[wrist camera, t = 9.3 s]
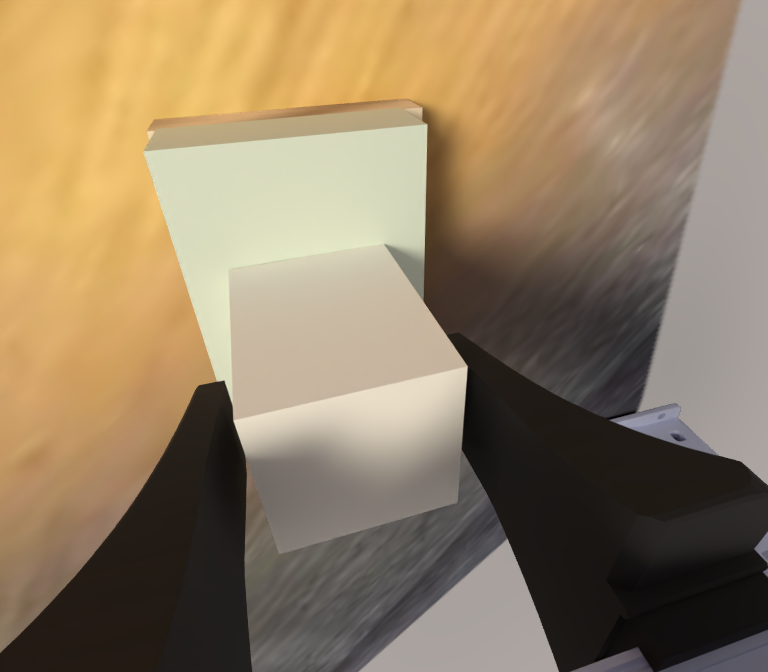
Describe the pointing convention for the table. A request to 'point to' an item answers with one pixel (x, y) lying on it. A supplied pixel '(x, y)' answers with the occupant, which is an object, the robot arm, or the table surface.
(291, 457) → the cream block
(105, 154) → the table surface
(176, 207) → the sage top slab
